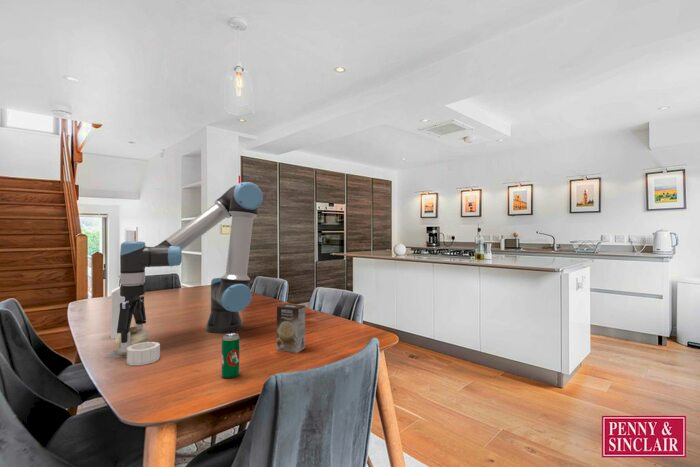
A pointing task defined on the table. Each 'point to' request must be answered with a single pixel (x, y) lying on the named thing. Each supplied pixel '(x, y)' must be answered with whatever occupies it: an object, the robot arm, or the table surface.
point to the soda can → (230, 355)
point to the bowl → (143, 353)
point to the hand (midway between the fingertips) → (132, 346)
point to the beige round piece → (131, 339)
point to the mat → (114, 355)
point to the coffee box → (290, 327)
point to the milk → (115, 310)
